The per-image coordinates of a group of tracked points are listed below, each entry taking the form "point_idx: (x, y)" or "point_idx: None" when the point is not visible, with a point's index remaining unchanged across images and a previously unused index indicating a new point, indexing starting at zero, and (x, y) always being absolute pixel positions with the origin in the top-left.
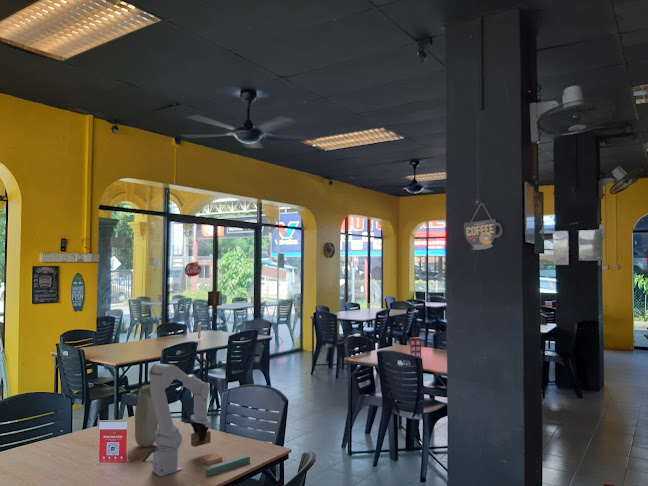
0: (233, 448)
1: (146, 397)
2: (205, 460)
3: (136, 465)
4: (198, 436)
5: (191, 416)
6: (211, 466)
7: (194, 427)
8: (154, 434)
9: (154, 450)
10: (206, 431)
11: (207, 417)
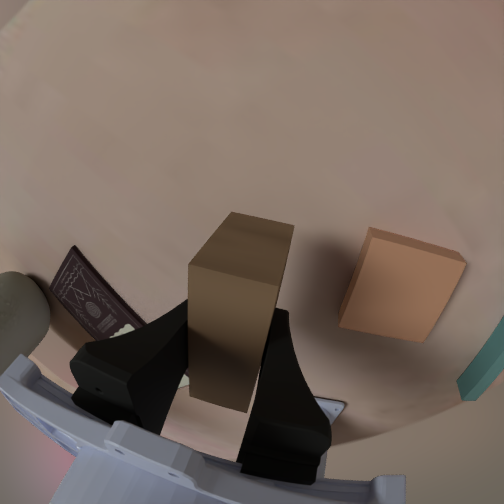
0: (374, 38)
1: None
2: (400, 338)
3: (174, 409)
4: (256, 378)
5: (32, 422)
6: (477, 383)
7: (165, 415)
8: (23, 322)
9: (87, 323)
10: (300, 377)
11: (173, 478)
